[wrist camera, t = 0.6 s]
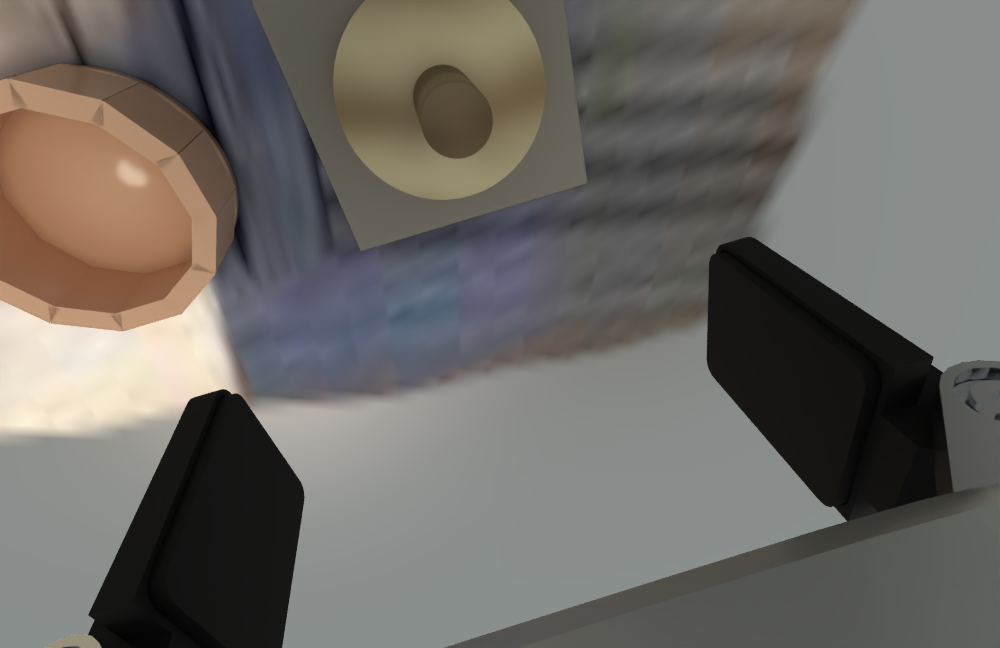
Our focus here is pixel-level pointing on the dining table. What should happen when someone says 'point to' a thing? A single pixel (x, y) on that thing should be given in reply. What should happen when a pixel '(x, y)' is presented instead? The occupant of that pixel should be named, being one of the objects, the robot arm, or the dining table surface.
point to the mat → (364, 196)
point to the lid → (439, 93)
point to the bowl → (107, 199)
